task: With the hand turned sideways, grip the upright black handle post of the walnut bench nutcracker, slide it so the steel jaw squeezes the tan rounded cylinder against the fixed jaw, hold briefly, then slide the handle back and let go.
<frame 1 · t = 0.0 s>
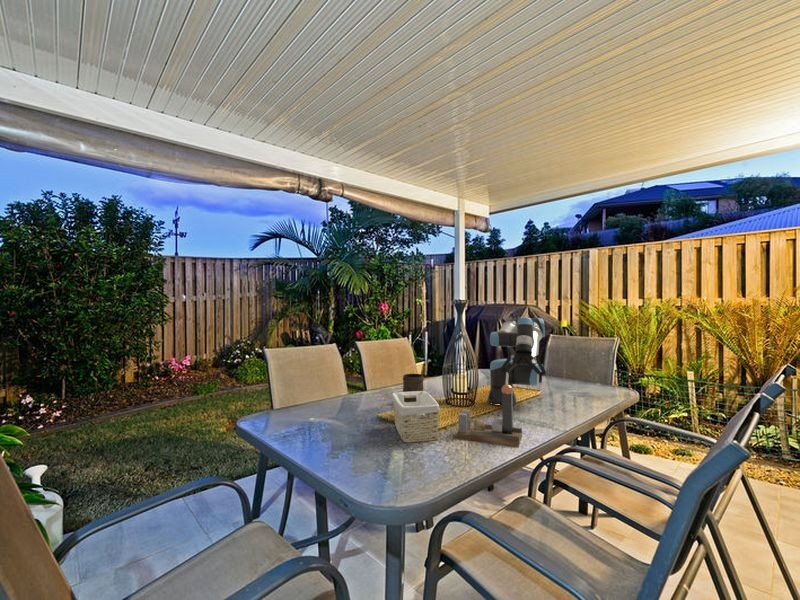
hand: (522, 387, 168), 15 cm above the table, tool tilted 35°, fingers open, 13 cm apart
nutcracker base: (489, 437, 149), on the table
storage basket: (414, 433, 156), on the table
beer stein: (415, 414, 182), on the table
handle: (502, 408, 147), point 12 cm above the table, slide at 0.0 cm
tan rounded cylinder: (479, 431, 151), point 2 cm above the table, touching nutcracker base
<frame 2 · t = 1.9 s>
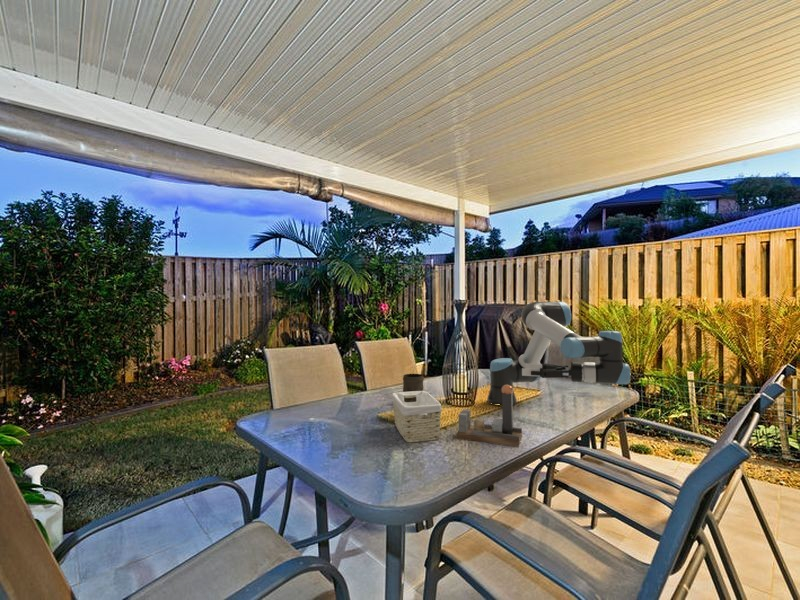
hand: (523, 369, 150), 27 cm above the table, tool horizontal, fingers open, 13 cm apart
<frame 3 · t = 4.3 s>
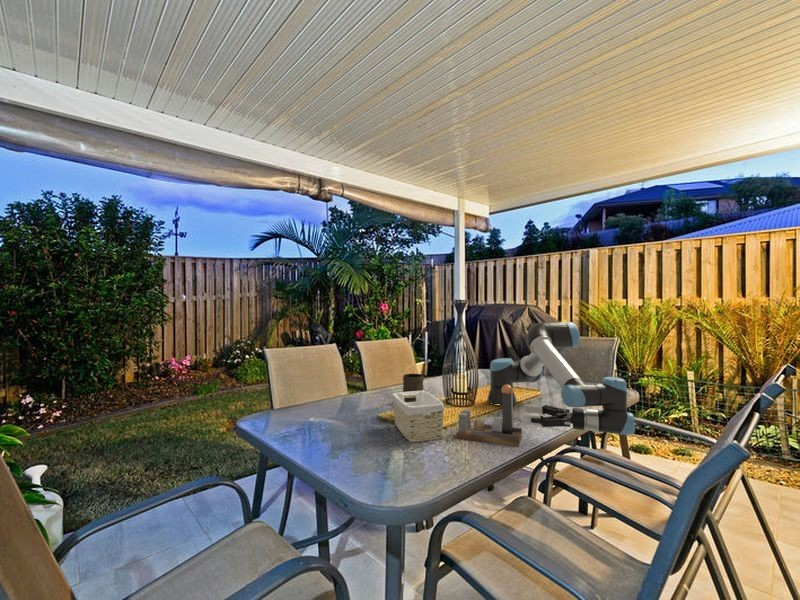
hand: (523, 413, 144), 11 cm above the table, tool horizontal, fingers open, 13 cm apart
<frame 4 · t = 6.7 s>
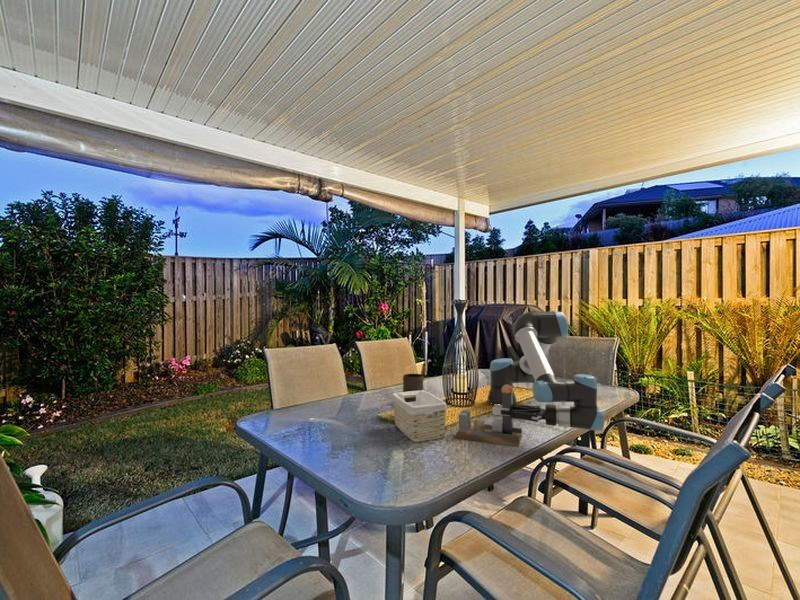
hand: (493, 409, 149), 11 cm above the table, tool horizontal, fingers closed on handle, 3 cm apart
handle: (502, 408, 147), point 12 cm above the table, slide at 0.0 cm, touching gripper
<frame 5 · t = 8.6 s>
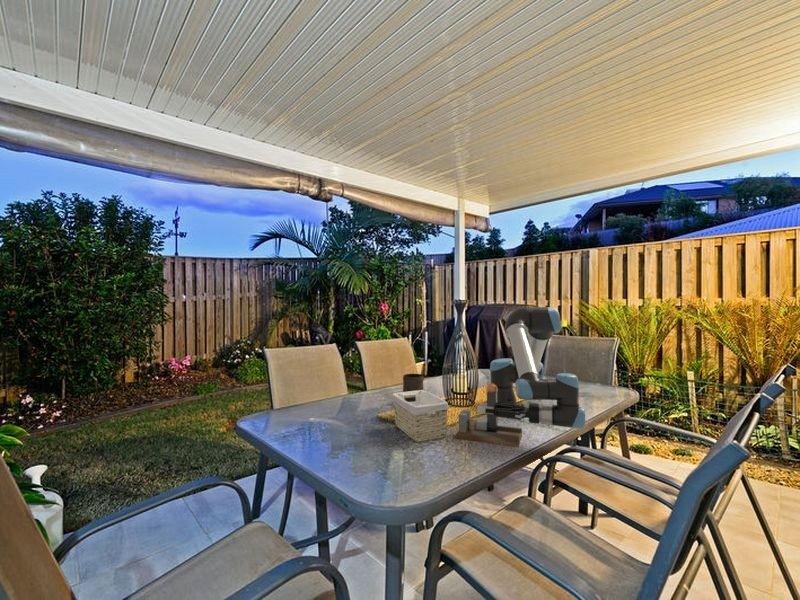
hand: (478, 407, 151), 11 cm above the table, tool horizontal, fingers closed on handle, 3 cm apart
handle: (487, 407, 150), point 12 cm above the table, slide at 6.0 cm, touching gripper, tan rounded cylinder
tan rounded cylinder: (473, 430, 152), point 2 cm above the table, touching handle, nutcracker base
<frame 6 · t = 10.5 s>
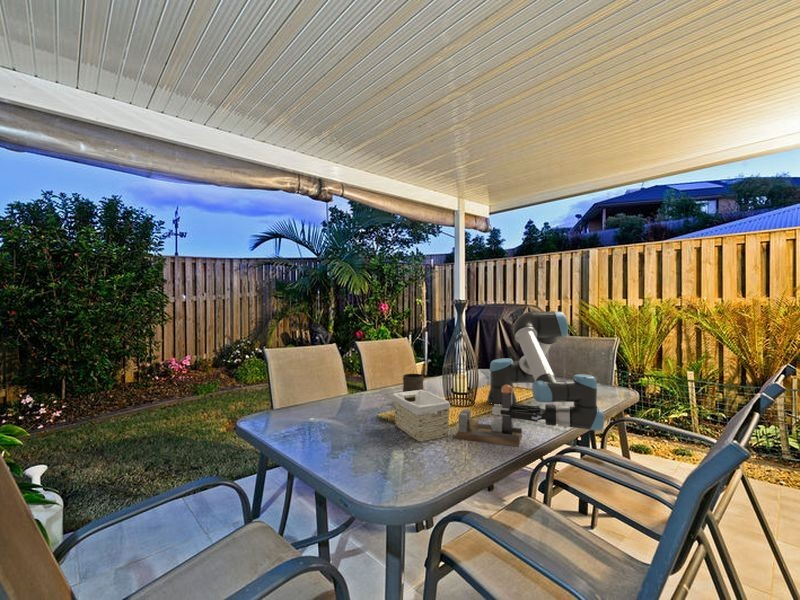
hand: (493, 409, 149), 12 cm above the table, tool horizontal, fingers closed on handle, 3 cm apart
handle: (502, 408, 147), point 12 cm above the table, slide at 0.1 cm, touching gripper
tan rounded cylinder: (473, 430, 152), point 2 cm above the table, touching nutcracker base
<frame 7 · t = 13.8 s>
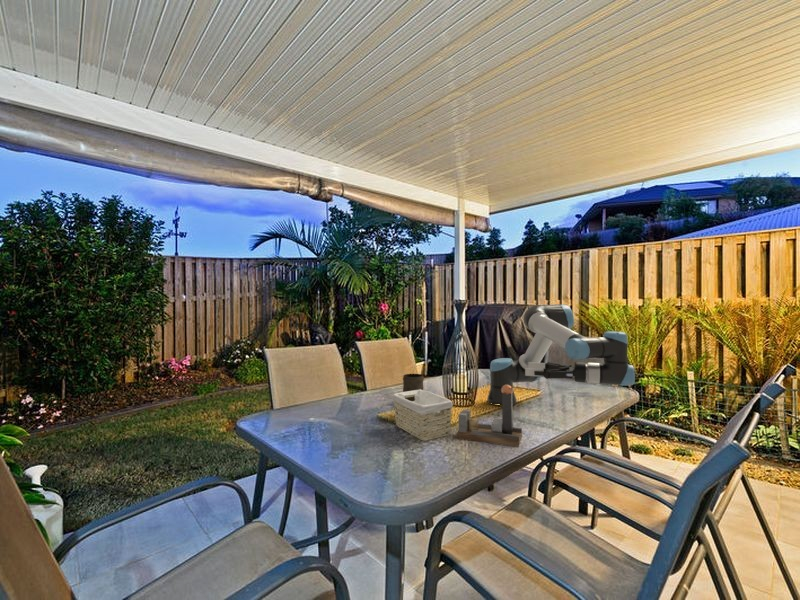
hand: (526, 368, 149), 28 cm above the table, tool horizontal, fingers open, 13 cm apart
handle: (502, 408, 147), point 12 cm above the table, slide at 0.1 cm
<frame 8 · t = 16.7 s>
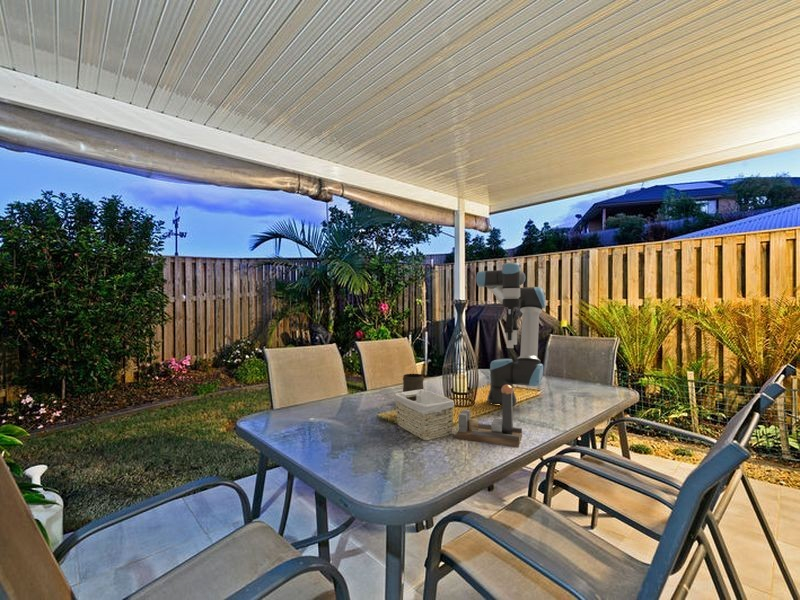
hand: (512, 346, 164), 35 cm above the table, tool pointing down, fingers open, 13 cm apart
at the end: handle slide at 0.1 cm; tan rounded cylinder inside the target area (0.8 cm from its centre), point 2.0 cm above the table; tan rounded cylinder tilted 0° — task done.
